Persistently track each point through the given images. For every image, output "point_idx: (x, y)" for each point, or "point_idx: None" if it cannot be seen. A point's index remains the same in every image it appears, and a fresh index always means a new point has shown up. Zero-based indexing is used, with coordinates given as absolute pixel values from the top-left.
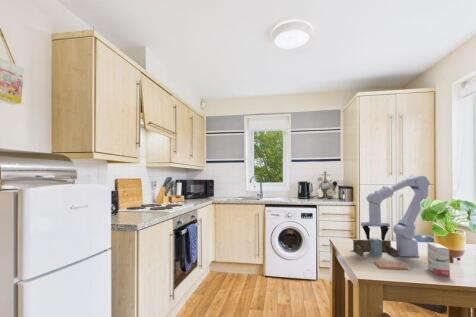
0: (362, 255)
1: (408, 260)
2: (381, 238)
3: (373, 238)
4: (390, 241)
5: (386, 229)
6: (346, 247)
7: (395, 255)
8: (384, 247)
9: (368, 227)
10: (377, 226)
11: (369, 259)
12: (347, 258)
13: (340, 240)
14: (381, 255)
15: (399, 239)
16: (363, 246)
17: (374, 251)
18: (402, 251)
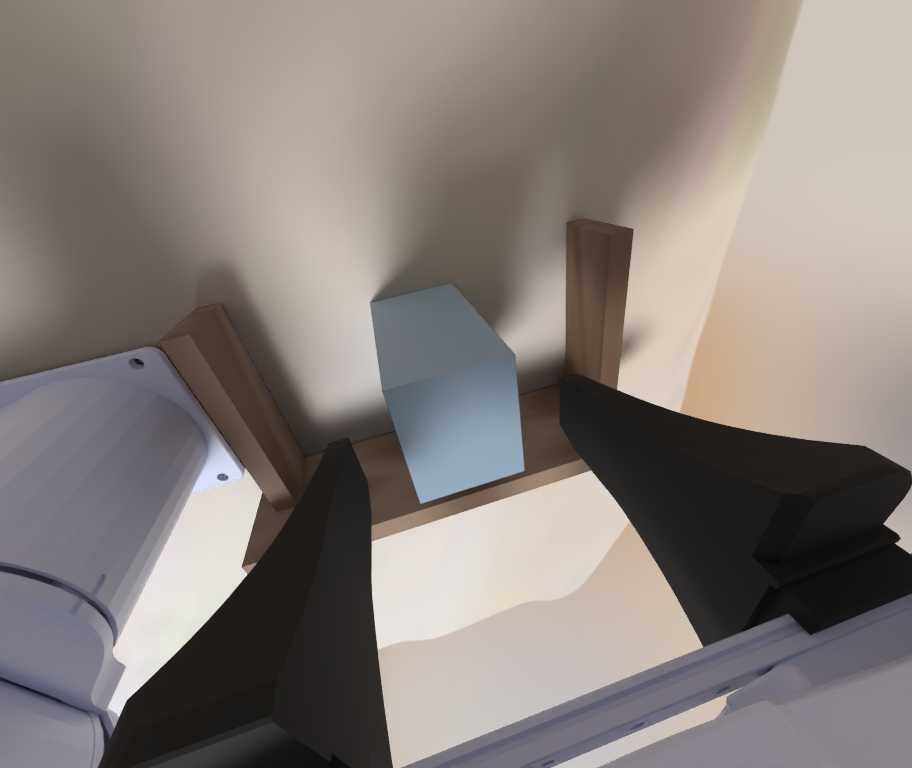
0: (578, 222)
1: (21, 189)
2: (368, 495)
3: (483, 468)
4: (246, 559)
5: (210, 675)
6: None
7: (212, 309)
8: None
9: (781, 558)
10: (514, 725)
11: (544, 76)
12: (774, 47)
13: (596, 561)
14: (376, 301)
15: (34, 551)
16: (533, 420)
17: (458, 295)
18: (107, 405)
